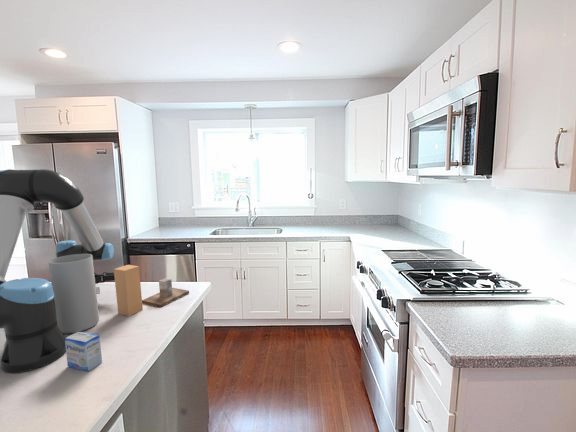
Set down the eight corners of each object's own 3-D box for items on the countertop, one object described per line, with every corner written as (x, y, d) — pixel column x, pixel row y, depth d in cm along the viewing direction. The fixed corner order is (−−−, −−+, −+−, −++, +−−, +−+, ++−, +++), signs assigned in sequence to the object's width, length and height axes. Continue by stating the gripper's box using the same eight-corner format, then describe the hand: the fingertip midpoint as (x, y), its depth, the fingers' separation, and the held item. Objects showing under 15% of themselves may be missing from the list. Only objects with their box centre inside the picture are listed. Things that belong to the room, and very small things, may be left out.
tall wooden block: (142, 309, 121) (138, 266, 118) (128, 316, 115) (124, 270, 113) (132, 306, 123) (128, 264, 121) (118, 313, 118) (113, 268, 115)
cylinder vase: (101, 315, 116) (95, 252, 113) (96, 329, 105) (88, 260, 102) (62, 322, 111) (54, 256, 108) (52, 337, 100) (43, 265, 97)
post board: (161, 307, 122) (159, 287, 121) (142, 302, 127) (140, 284, 126) (189, 293, 137) (187, 275, 136) (171, 289, 141) (170, 273, 140)
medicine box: (67, 367, 84) (63, 338, 83) (82, 358, 88) (78, 330, 87) (88, 372, 82) (85, 342, 81) (102, 362, 86) (99, 334, 85)
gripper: (110, 277, 142) (142, 283, 133) (51, 297, 119) (84, 305, 111) (109, 262, 141) (140, 267, 132) (49, 278, 119) (82, 286, 110)
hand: (115, 284), depth 121 cm, fingers open, 13 cm apart
